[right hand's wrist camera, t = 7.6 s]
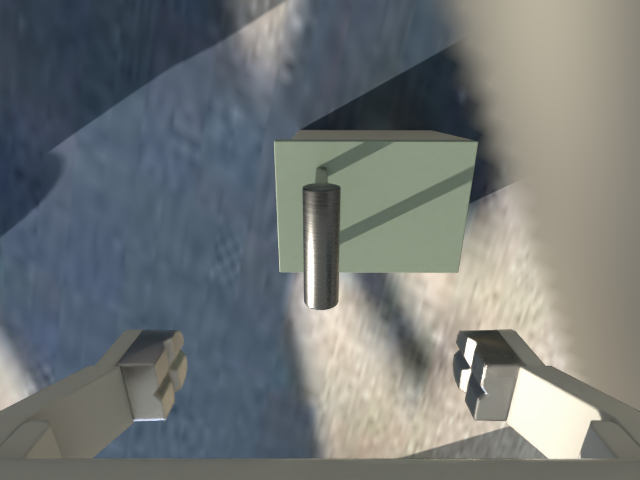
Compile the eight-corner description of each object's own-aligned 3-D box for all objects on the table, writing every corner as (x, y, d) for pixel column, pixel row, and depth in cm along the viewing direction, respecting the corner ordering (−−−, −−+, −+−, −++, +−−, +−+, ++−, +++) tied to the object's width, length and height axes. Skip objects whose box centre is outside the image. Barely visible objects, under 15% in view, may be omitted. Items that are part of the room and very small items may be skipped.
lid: (281, 265, 27) (264, 334, 19) (275, 139, 23) (253, 157, 15) (453, 266, 27) (509, 335, 19) (471, 139, 23) (549, 157, 15)
